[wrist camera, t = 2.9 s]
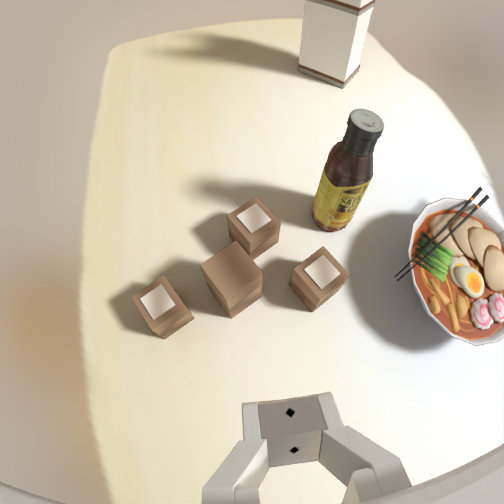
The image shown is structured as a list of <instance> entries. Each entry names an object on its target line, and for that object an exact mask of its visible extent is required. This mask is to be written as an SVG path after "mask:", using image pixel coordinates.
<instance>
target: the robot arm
mask: <svg viewBox="0 0 504 504" xmlns="http://www.w3.org/2000/svg"><path fill="white" fill-rule="evenodd" d="M258 412H259V413H258ZM242 421H243V438H244V440H243V441H239V442H238V443H237V444H236V446H235V447H234V448H233V450H232V451H231V452H230V454H229V455H228V456H227V458H226V459H225V460H224V462H223V463H222V464H221V465H220V467H219V468H218V469H217V470H216V472H215V473H214V474H213V476H212V477H211V478H210V479H209V480H208V482H207V483H206V484H205V485H204V487H203V488H202V504H260V498H259V492H258V490H257V489H258V488H259V486H260V484H261V482H262V481H263V479H264V477H265V475H266V473H267V472H268V470H269V468H270V467H277V466H284V465H290V464H297V463H305V462H312V461H319V462H320V463H321V464H322V465H323V466H324V467H325V468H326V469H327V470H328V471H330V472H331V473H332V474H333V475H334V476H335V477H336V478H337V479H339V480H340V481H341V482H342V483H343V484H344V485H345V486H347V487H348V488H347V490H346V493H345V496H344V498H343V501H342V504H504V444H502V445H500V446H499V447H497V448H495V449H493V450H492V451H490V452H488V453H486V454H484V455H482V456H480V457H479V458H477V459H475V460H473V461H471V462H469V463H467V464H465V465H462V466H460V467H458V468H456V469H454V470H452V471H449V472H447V473H445V474H443V475H440V476H438V477H435V478H433V479H431V480H428V481H426V482H423V483H420V484H418V485H415V486H412V485H411V483H410V481H409V478H408V476H407V474H406V472H405V469H404V467H403V465H402V463H401V460H400V458H399V457H397V456H396V455H394V454H392V453H391V452H389V451H387V450H386V449H384V448H382V447H381V446H379V445H378V444H376V443H375V442H373V441H371V440H370V439H368V438H367V437H365V436H364V435H362V434H360V433H359V432H357V431H356V430H354V429H353V428H351V427H350V426H344V425H343V422H342V419H341V417H340V414H339V411H338V408H337V406H336V403H335V400H334V398H333V395H332V393H331V392H327V393H321V394H316V395H315V394H314V395H308V396H302V397H295V398H289V399H283V400H272V401H260V402H258V404H257V402H250V403H242ZM0 504H65V503H61V502H57V501H54V500H51V499H47V498H44V497H41V496H38V495H35V494H31V493H29V492H26V491H23V490H20V489H17V488H15V487H12V486H9V485H7V484H4V483H2V482H0Z"/></svg>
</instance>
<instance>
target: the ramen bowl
mask: <svg viewBox="0 0 504 504" xmlns="http://www.w3.org/2000/svg"><path fill="white" fill-rule="evenodd" d="M481 190H482V188H481V187H479V188H478V190H477V191H476V192H475V193H474V194H473V195H472V197H471V198H470V199H469V200H468V201H467V200H463V199H453V198H443V199H441V200H438V201H436V202H433V203H430V204H428V205H426V206H425V207H424V209H423V210H422V212H421V213H420V214H419V216H418V217H417V219H416V220H415V221H414V223H413V226H412V231H411V237H410V242H409V247H408V260H409V263H408V264H407V265H406V266H405V267H404V268H403V269H402V270H401V271H400V272H402V271H403V270H404V269H405V268H406V267H407V266H408V265H410V269H409V270H408V271H407V272H406V273H405V274H407V273H408V272H409V271H411V277H412V283H413V287H414V289H415V291H416V293H417V295H418V297H419V299H420V301H421V303H422V305H423V307H424V309H425V311H426V313H427V315H429V316H430V317H431V318H432V319H433V320H434V321H435V322H436V323H437V324H438V325H439V326H440V327H441V328H442V329H443V330H444V331H445V332H446V333H447V334H448V335H450V336H452V337H455V338H457V339H460V340H463V341H465V342H468V343H470V344H473V345H475V346H479V345H484V344H489V343H494V342H498V341H500V340H501V339H502V338H503V337H504V228H503V227H502V226H501V225H500V224H499V223H498V222H497V221H496V220H495V219H494V218H493V217H492V216H491V215H490V214H489V213H488V212H487V211H486V210H484V209H482V208H480V206H481V205H482V204H483V203H484V202H485V201H486V200H487V199H488V198H489V197H488V195H486V196H485V197H484V198H483V199H482V200H481V201H480V202H479V204H478V205H475V204H473V203H471V202H472V200H473V199H474V198H475V197H476V196H477V195H478V194H479V193H480V192H481ZM400 272H399V273H400ZM399 273H398V274H399ZM398 274H397V275H398ZM405 274H404V275H405ZM397 275H396V276H397ZM404 275H402V276H401V277H400V278H399V279H401V278H402V277H403V276H404ZM396 276H395V277H396ZM399 279H398V280H399ZM398 280H397V281H398Z"/></svg>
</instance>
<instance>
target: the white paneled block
mask: <svg viewBox="0 0 504 504" xmlns="http://www.w3.org/2000/svg"><path fill="white" fill-rule="evenodd" d="M349 276H350V275H349V274H348V272H347V271H346V270H345V269H344V268H343V267H342V266H341V265H340V264H339V263H338V261H337V260H336V259H335V258H334V257H333V256H332V255H331V254H330V253H329V252H328V251H327V250H326V248H325V247H324V246H323V247H322V248H320V249H319V250H318V251H316V252H315V253H314V254H312V255H311V256H310V257H309V258H307V259H306V260H305V261H303V262H302V263H301V264H299V265H298V266H297V267H295V268H294V269H293V273H292V276H291V279H290V283H289V286H290V287H291V288H292V289H293V291H294V292H295V293H296V294H297V295H298V296H299V298H300V299H301V300H302V301H303V302H304V304H305V305H306V306H307V307H308V308H309V309H310V311H311V312H313V311H315V310H316V309H317V308H318V307H320V306H321V305H322V304H323V303H324V302H326V301H327V300H328V299H329V298H330V297H332V296H333V295H334V294H335V293H336V292H337V291H339V289H340V288H341V287H342V285H343V284H344V283H345V281H346V280H347V278H348V277H349Z"/></svg>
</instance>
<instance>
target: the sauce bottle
mask: <svg viewBox="0 0 504 504" xmlns="http://www.w3.org/2000/svg"><path fill="white" fill-rule="evenodd" d="M347 125H348V127H347V130H346V133H345V136H344V137H343V141H341V142H338V143H337V144H336V145H334V147H333V148H332V150H331V151H330V153H329V156H328V159H327V162H326V164H325V166H324V170H323V173H322V176H321V180H320V183H319V186H318V189H317V193H316V196H315V199H314V202H313V210H312V217H313V219H314V221H315V223H316V224H317V225H318V226H319V227H320V228H322V229H323V230H327V231H339V230H341V229H343V228H345V226H346V225H347V224H348V223H349V222H350V220H351V219H352V217H353V215H354V213H355V211H356V209H357V207H358V205H359V203H360V201H361V199H362V197H363V195H364V193H365V191H366V189H367V187H368V185H369V183H370V181H371V179H372V176H373V151H374V146H375V144H376V142H377V139H378V138H379V137H380V136H381V134H382V131H383V128H384V123H383V121H382V119H381V118H380V117H379V116H378V115H377V114H375V113H374V112H372V111H369V110H365V109H355V110H353V111H352V112H351V113H350V115H349V118H348V122H347Z"/></svg>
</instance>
